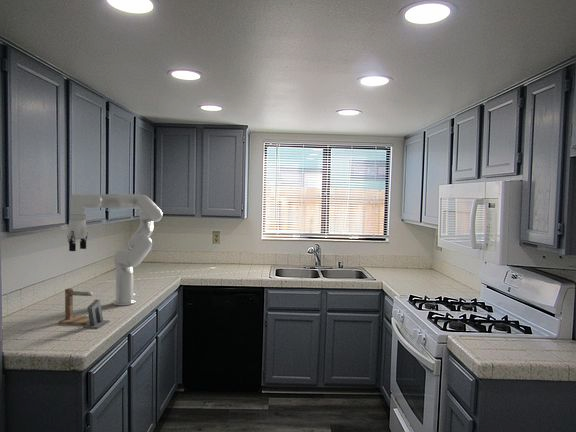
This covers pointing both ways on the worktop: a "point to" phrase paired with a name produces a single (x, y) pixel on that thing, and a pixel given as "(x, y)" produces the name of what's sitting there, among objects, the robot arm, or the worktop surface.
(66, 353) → the worktop surface
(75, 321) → the hook stand
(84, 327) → the rubber mat
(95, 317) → the grey u-shaped bracket
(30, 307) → the worktop surface
